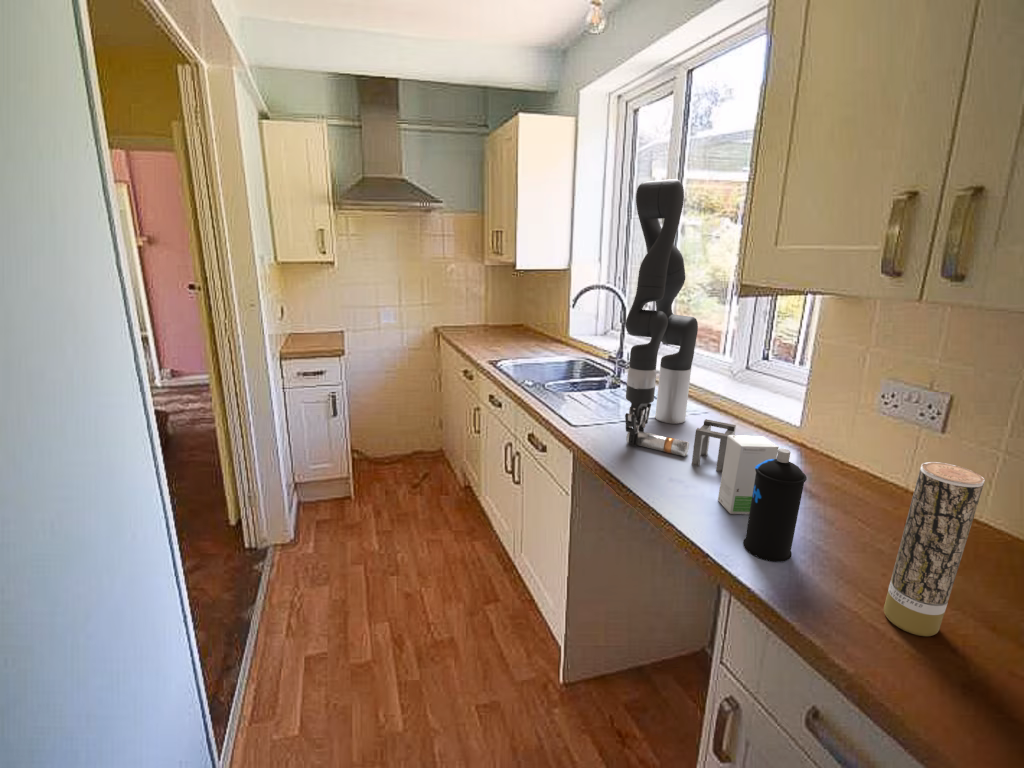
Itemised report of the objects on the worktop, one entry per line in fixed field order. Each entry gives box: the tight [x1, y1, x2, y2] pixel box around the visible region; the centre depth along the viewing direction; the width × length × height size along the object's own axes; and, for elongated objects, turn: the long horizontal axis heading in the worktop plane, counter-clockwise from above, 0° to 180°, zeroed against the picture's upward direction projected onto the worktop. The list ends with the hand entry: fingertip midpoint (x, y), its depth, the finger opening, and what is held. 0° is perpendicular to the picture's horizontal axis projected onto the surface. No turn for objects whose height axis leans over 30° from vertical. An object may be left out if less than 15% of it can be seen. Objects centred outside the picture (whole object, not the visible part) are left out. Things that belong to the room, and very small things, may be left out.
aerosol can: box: [742, 448, 807, 563], centre depth 92 cm, size 8×8×20 cm
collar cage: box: [691, 418, 737, 473], centre depth 130 cm, size 10×8×10 cm
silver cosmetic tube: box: [626, 431, 690, 457], centre depth 138 cm, size 16×4×4 cm, turn 56°
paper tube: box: [883, 461, 985, 637], centre depth 74 cm, size 7×7×25 cm
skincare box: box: [717, 434, 780, 515], centre depth 107 cm, size 8×7×16 cm
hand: (635, 442), depth 142 cm, fingers closed on silver cosmetic tube, 4 cm apart
